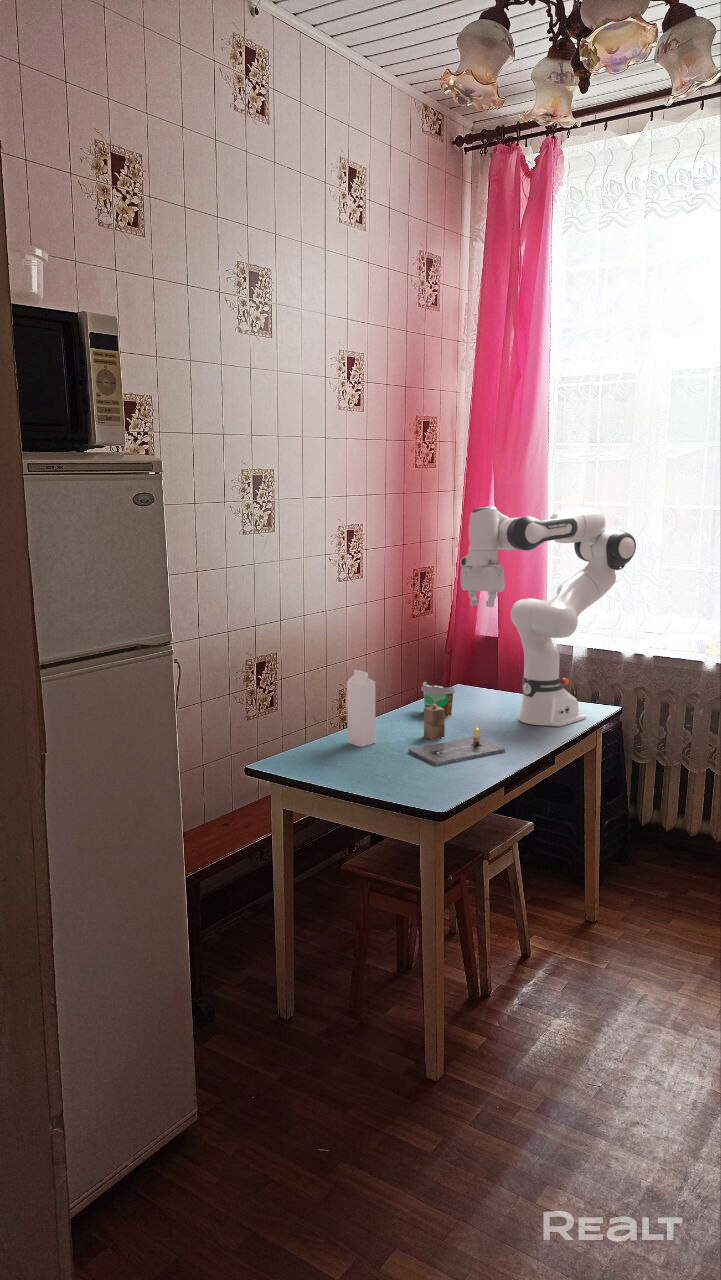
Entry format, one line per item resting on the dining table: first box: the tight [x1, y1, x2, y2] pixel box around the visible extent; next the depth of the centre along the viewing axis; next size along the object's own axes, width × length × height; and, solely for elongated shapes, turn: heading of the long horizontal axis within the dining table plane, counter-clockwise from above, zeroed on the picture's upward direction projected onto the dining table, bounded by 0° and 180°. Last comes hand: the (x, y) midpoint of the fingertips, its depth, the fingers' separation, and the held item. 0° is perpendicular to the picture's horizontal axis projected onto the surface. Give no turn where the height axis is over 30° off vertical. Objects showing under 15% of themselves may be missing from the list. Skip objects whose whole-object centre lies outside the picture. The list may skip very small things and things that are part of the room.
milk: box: [346, 669, 377, 748], centre depth 265 cm, size 6×6×22 cm
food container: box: [421, 681, 456, 717], centre depth 297 cm, size 12×6×10 cm, turn 49°
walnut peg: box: [423, 704, 446, 740], centre depth 272 cm, size 4×4×10 cm
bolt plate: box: [407, 727, 506, 767], centre depth 257 cm, size 24×14×6 cm, turn 119°
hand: (481, 606), depth 271 cm, fingers open, 8 cm apart
